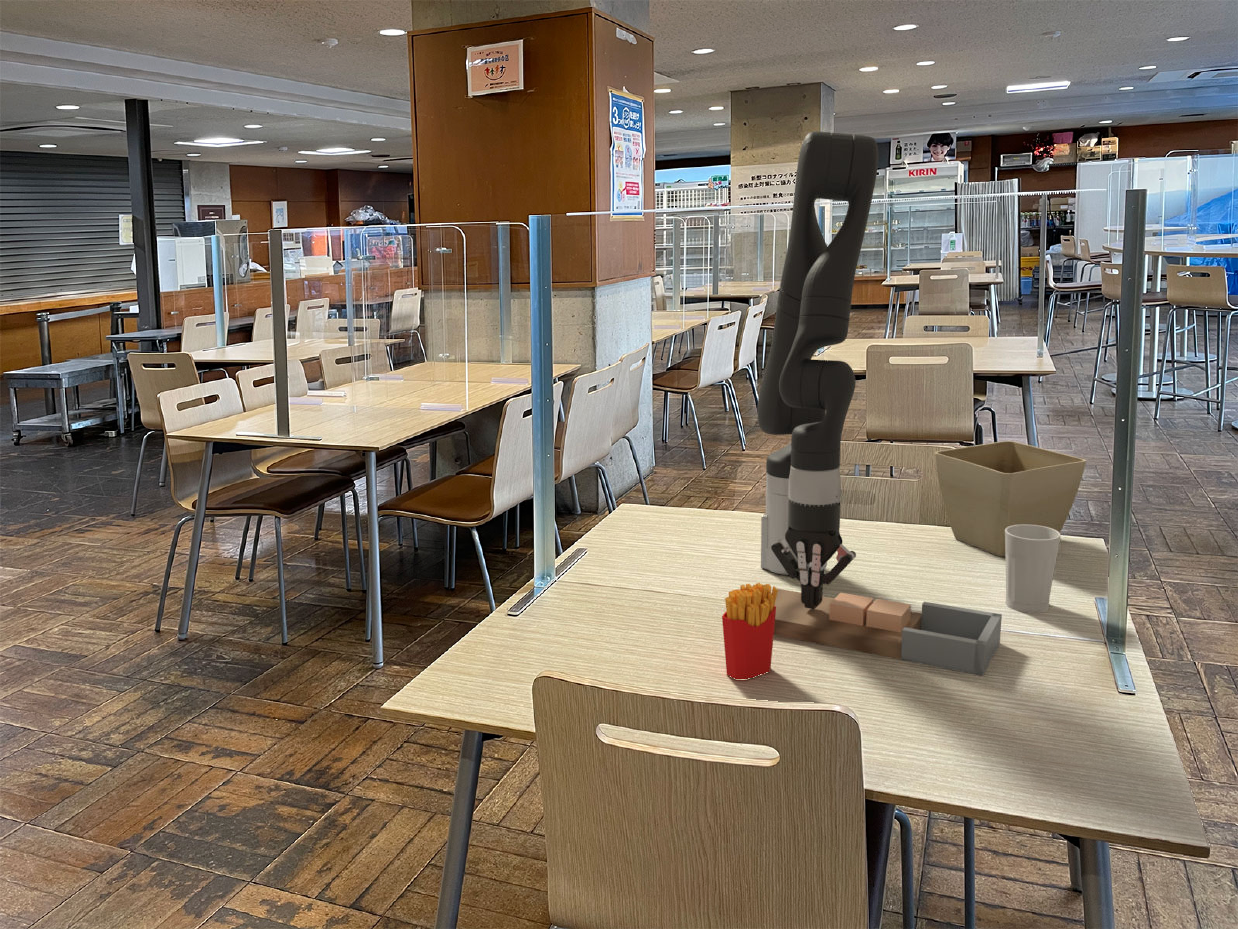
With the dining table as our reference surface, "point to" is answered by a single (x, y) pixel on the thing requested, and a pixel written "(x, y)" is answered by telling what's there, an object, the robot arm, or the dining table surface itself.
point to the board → (834, 627)
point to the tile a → (850, 608)
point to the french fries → (749, 630)
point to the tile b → (888, 615)
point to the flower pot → (1005, 490)
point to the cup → (1030, 566)
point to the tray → (953, 638)
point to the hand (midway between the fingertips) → (811, 606)
